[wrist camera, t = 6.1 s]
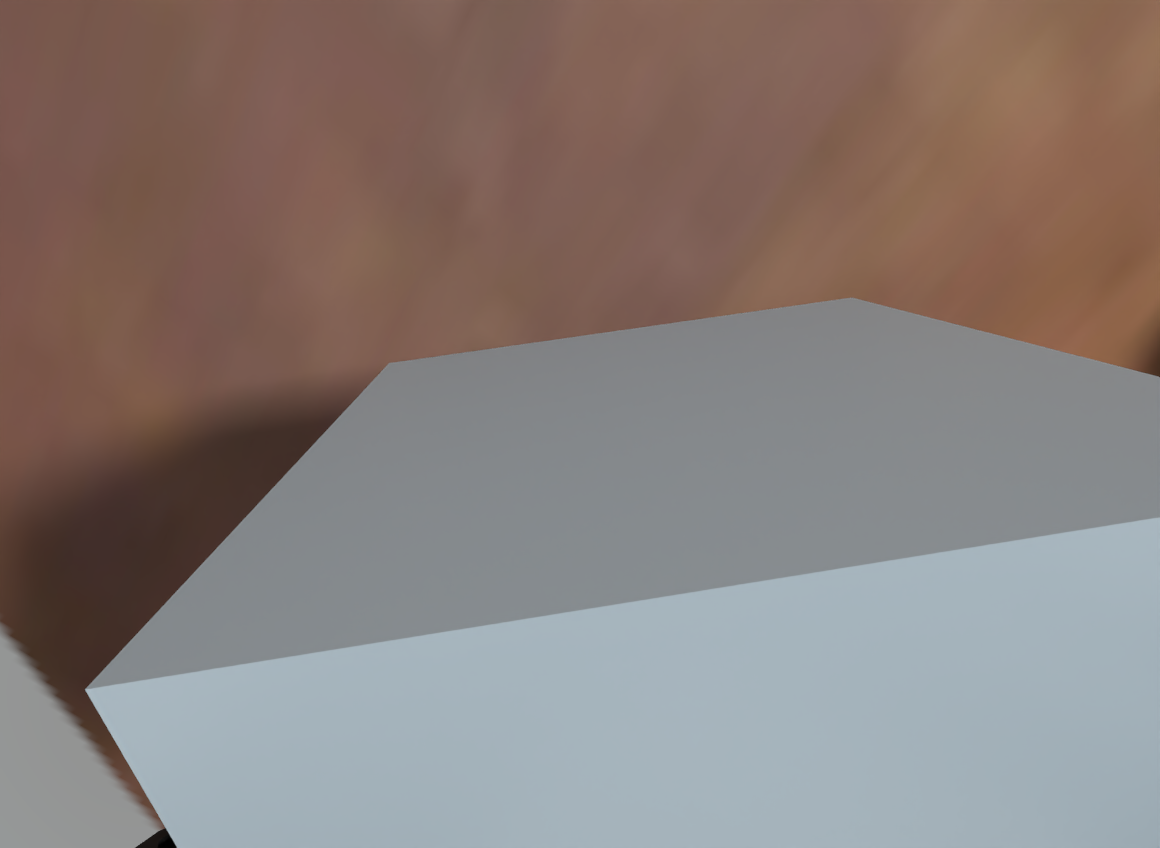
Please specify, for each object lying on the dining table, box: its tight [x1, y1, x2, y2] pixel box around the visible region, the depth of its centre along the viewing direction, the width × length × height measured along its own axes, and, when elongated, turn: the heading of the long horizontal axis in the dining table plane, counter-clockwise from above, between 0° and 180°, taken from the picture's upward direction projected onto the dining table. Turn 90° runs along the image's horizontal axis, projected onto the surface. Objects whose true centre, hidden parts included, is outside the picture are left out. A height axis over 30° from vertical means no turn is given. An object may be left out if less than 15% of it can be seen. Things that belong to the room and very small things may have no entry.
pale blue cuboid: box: [85, 298, 1160, 848], centre depth 10 cm, size 10×10×9 cm
